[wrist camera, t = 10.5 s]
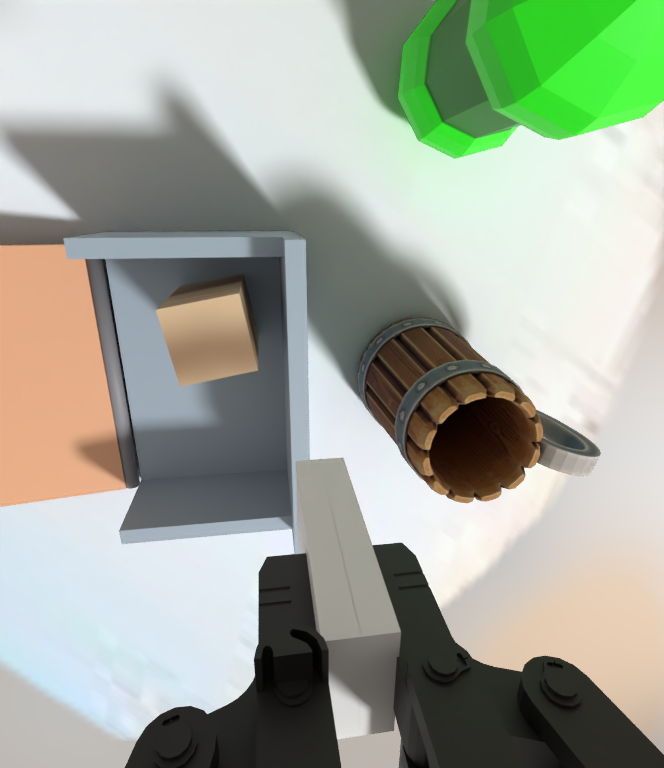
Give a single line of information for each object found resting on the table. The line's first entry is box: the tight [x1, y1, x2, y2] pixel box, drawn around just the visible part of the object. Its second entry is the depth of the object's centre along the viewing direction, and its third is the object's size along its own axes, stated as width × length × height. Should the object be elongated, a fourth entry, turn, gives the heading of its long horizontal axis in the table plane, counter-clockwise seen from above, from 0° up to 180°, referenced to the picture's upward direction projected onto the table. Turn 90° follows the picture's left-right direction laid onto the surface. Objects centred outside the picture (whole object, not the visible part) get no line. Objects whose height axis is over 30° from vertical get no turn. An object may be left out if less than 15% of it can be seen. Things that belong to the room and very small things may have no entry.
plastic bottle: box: [398, 0, 664, 158], centre depth 24 cm, size 10×10×25 cm
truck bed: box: [63, 231, 310, 554], centre depth 35 cm, size 22×14×12 cm, turn 0°
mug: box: [358, 318, 600, 503], centre depth 37 cm, size 16×11×15 cm
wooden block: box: [156, 274, 259, 387], centre depth 33 cm, size 5×5×9 cm
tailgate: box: [0, 244, 140, 507], centre depth 36 cm, size 20×1×11 cm
